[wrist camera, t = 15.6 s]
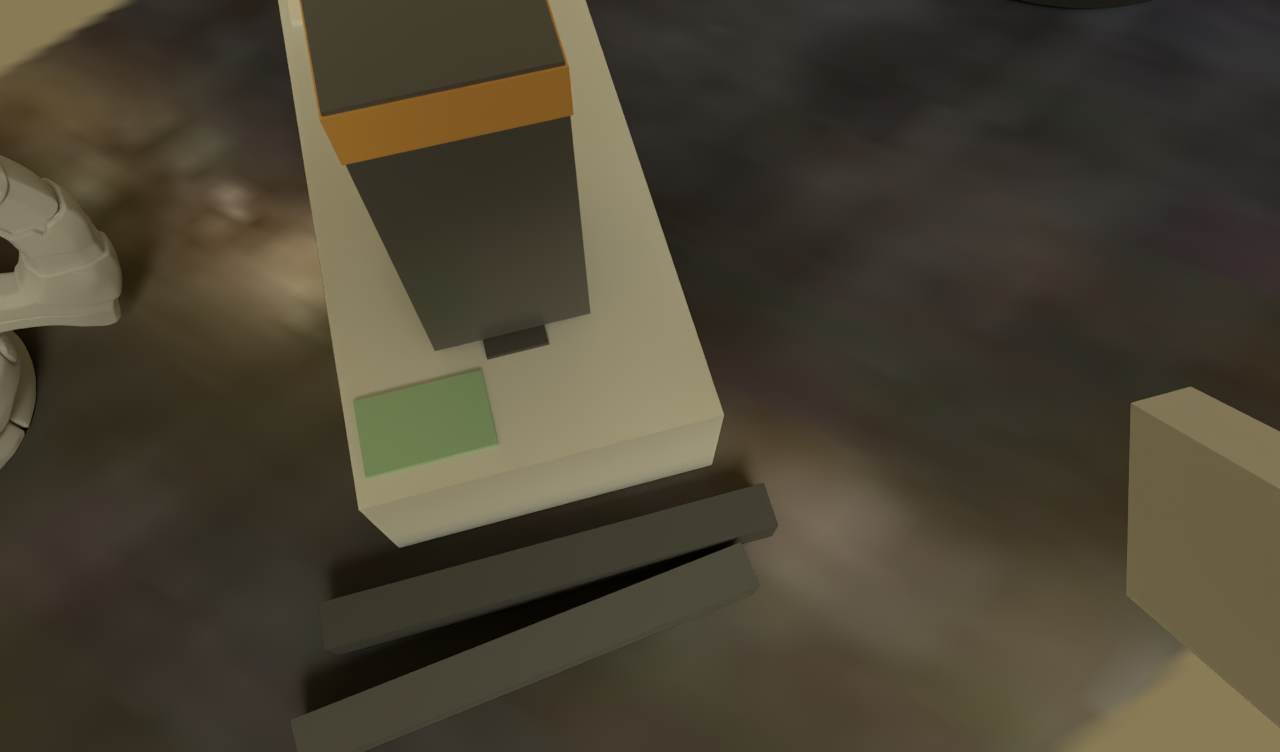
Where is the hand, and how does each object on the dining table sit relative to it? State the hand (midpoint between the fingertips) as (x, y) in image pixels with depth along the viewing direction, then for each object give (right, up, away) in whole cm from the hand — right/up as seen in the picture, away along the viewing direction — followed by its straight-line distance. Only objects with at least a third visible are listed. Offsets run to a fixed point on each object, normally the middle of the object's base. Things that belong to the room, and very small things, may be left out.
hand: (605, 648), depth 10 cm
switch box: (-4, +7, +19) cm, 21 cm away
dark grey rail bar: (-2, -2, +15) cm, 15 cm away
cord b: (-2, -4, +14) cm, 15 cm away
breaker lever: (-3, +6, +13) cm, 15 cm away
